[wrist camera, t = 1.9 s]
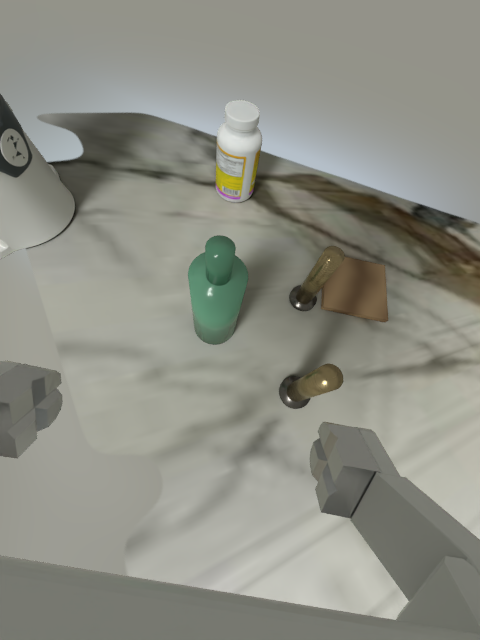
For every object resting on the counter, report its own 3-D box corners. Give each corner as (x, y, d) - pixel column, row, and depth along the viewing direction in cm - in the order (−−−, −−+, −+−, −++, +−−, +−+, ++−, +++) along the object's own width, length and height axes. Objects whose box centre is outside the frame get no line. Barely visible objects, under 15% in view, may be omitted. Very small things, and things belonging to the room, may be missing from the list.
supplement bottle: (241, 173, 49) (252, 91, 37) (259, 198, 47) (276, 120, 35) (208, 182, 47) (209, 99, 35) (225, 208, 45) (232, 130, 33)
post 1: (288, 308, 39) (316, 265, 29) (290, 285, 41) (318, 237, 31) (314, 313, 39) (351, 273, 29) (315, 290, 41) (351, 244, 31)
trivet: (321, 308, 40) (323, 306, 39) (323, 255, 44) (325, 252, 43) (384, 322, 40) (388, 320, 39) (381, 268, 44) (384, 265, 43)
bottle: (189, 340, 35) (176, 269, 20) (199, 303, 38) (194, 214, 22) (230, 348, 36) (249, 284, 20) (237, 311, 38) (259, 228, 22)
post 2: (277, 405, 34) (308, 394, 23) (280, 374, 35) (310, 351, 25) (308, 411, 34) (351, 403, 24) (310, 380, 35) (351, 360, 25)
